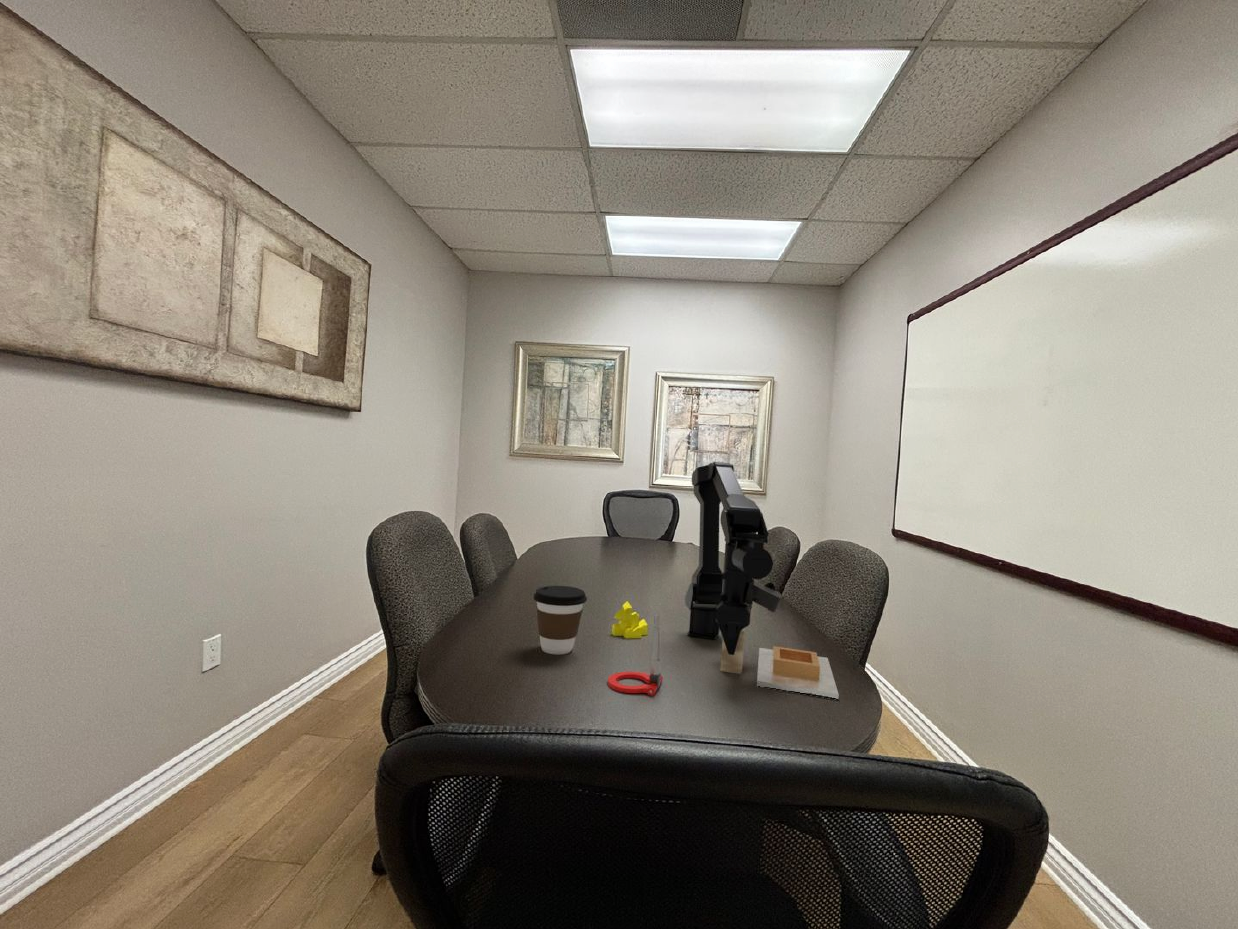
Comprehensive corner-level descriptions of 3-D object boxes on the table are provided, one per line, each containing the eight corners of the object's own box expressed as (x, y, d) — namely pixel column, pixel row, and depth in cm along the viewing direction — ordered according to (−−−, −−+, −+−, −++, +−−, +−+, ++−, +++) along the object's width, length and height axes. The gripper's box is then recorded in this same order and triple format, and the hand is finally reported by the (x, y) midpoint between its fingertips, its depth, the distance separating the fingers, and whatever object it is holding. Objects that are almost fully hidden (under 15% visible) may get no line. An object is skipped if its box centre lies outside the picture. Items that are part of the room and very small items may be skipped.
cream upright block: (720, 670, 108) (723, 630, 108) (722, 664, 112) (724, 624, 112) (741, 674, 107) (744, 633, 107) (742, 667, 111) (745, 627, 111)
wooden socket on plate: (756, 686, 102) (757, 667, 102) (758, 652, 121) (760, 636, 121) (838, 700, 98) (839, 680, 98) (827, 662, 117) (828, 646, 117)
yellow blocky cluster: (650, 638, 126) (652, 604, 126) (616, 639, 124) (618, 604, 124) (641, 630, 132) (644, 597, 132) (609, 631, 129) (611, 597, 129)
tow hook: (601, 692, 96) (653, 699, 93) (603, 616, 96) (655, 622, 93) (615, 675, 104) (664, 681, 101) (616, 605, 104) (665, 610, 102)
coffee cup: (519, 652, 111) (523, 592, 111) (546, 637, 121) (550, 582, 121) (568, 662, 107) (572, 600, 107) (592, 646, 117) (595, 590, 117)
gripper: (781, 582, 99) (775, 670, 99) (780, 565, 117) (774, 639, 117) (718, 575, 102) (712, 660, 102) (726, 559, 120) (721, 631, 120)
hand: (732, 647), depth 110 cm, fingers open, 9 cm apart
